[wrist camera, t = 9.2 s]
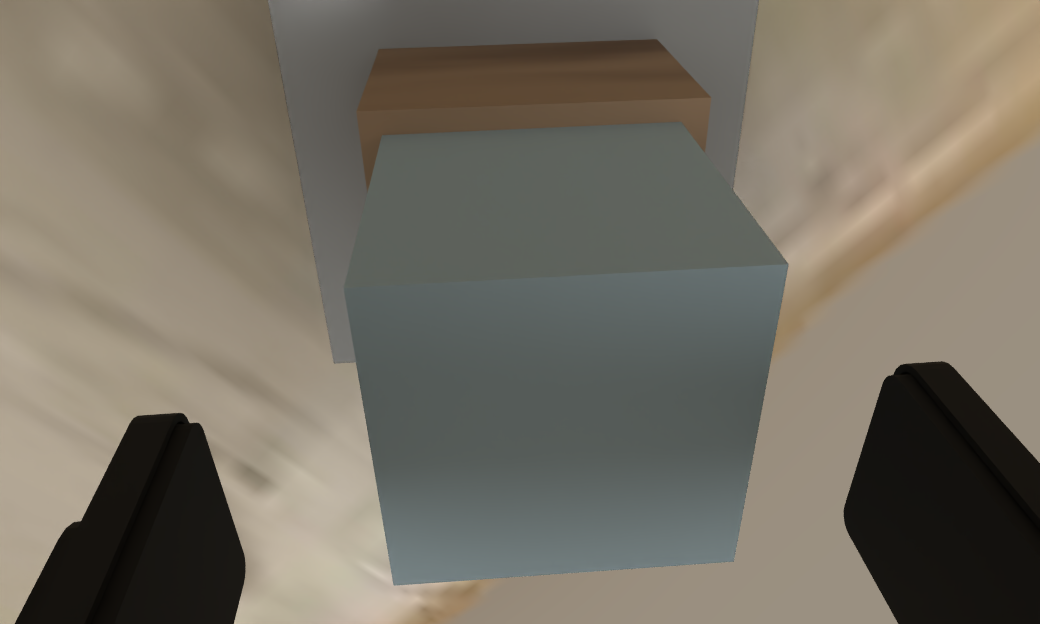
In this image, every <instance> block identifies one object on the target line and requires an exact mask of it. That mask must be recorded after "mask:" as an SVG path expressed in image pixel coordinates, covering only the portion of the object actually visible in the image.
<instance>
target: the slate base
mask: <svg viewBox="0 0 1040 624" xmlns="http://www.w3.org/2000/svg"><path fill="white" fill-rule="evenodd" d="M758 3H759V0H268V4H269V9H270V15H271V20H272V26H273V31H274V37H275V42H276V48H277V53H278V59H279V64H280V70H281V75H282V81H283V86H284V92H285V97H286V103H287V108H288V114H289V119H290V125H291V130H292V136H293V141H294V147H295V152H296V158H297V163H298V169H299V174H300V180H301V185H302V191H303V196H304V202H305V207H306V213H307V218H308V224H309V229H310V235H311V240H312V246H313V251H314V257H315V262H316V268H317V273H318V279H319V284H320V290H321V295H322V301H323V306H324V312H325V317H326V323H327V328H328V334H329V339H330V345H331V350H332V356H333V361H334V363H351V362H356V359H355V353H354V347H353V341H352V335H351V329H350V323H349V317H348V312H347V306H346V300H345V294H344V284H345V280H346V276H347V272H348V268H349V264H350V260H351V256H352V252H353V248H354V244H355V240H356V236H357V232H358V229H359V225H360V221H361V217H362V213H363V209H364V205H365V201H366V197H367V187H366V180H365V173H364V165H363V158H362V150H361V143H360V135H359V128H358V120H357V113H356V111H357V108H358V105H359V103H360V100H361V97H362V94H363V92H364V89H365V86H366V83H367V81H368V78H369V75H370V72H371V70H372V67H373V64H374V61H375V58H376V56H377V53H378V50H379V49H393V48H421V47H449V46H477V45H506V44H534V43H562V42H590V41H618V40H647V39H657V40H658V41H659V42H660V43H661V44H662V45H663V46H664V47H665V48H666V49H667V50H668V52H669V53H670V54H671V55H672V56H673V57H674V58H675V59H676V60H677V61H678V62H679V63H680V64H681V66H682V67H683V68H684V69H685V70H686V71H687V72H688V73H689V74H690V75H691V76H692V77H693V78H694V79H695V81H696V82H697V83H698V84H699V85H700V86H701V87H702V88H703V89H704V90H705V91H706V92H707V93H708V95H709V96H710V97H711V105H710V114H709V123H708V131H707V140H706V149H705V154H706V155H707V157H708V158H709V159H710V161H711V162H712V163H713V165H714V166H715V167H716V169H717V170H718V171H719V173H720V174H721V175H722V177H723V178H724V179H725V181H726V182H727V183H728V185H729V186H730V187H731V188H732V190H733V185H734V177H735V170H736V163H737V156H738V148H739V141H740V134H741V126H742V119H743V112H744V105H745V97H746V90H747V83H748V76H749V68H750V61H751V54H752V46H753V39H754V32H755V25H756V17H757V10H758Z"/></svg>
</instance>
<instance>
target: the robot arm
mask: <svg viewBox="0 0 1040 624" xmlns="http://www.w3.org/2000/svg"><path fill="white" fill-rule="evenodd" d="M844 521H845V526H846V529H847V531H848V533H849V536H850V537H851V539H852V541H853V543H854V545H855V546H856V548H857V550H858V552H859V553H860V555H861V557H862V559H863V561H864V563H865V564H866V566H867V568H868V570H869V572H870V573H871V575H872V577H873V579H874V581H875V582H876V584H877V586H878V588H879V590H880V591H881V593H882V595H883V597H884V598H885V600H886V602H887V604H888V606H889V608H890V609H891V611H892V613H893V615H894V617H895V618H896V620H897V622H898V624H1040V463H1039V462H1038V461H1037V460H1036V459H1035V457H1034V456H1033V455H1032V454H1031V453H1030V452H1029V451H1028V450H1027V449H1026V448H1025V446H1024V445H1023V444H1022V443H1021V442H1020V441H1019V440H1018V439H1017V438H1016V436H1015V435H1014V434H1013V433H1012V432H1011V431H1010V430H1009V429H1008V427H1006V425H1005V424H1004V423H1003V422H1002V421H1001V420H1000V419H999V418H998V416H997V415H996V414H995V413H994V412H993V411H992V410H991V409H990V408H989V406H988V405H987V404H986V403H985V402H984V401H983V400H982V399H981V398H980V396H979V395H978V394H977V393H976V392H975V391H974V390H973V389H972V388H971V386H970V385H969V384H968V383H967V382H966V381H965V380H964V379H963V378H962V377H961V375H960V374H959V373H958V372H957V371H956V370H955V369H954V368H953V367H952V366H951V365H950V364H948V363H946V362H942V361H941V362H926V363H912V364H903V365H900V366H899V367H898V368H897V369H896V370H895V372H894V375H891V376H888V377H886V379H885V380H884V382H883V384H882V387H881V391H880V394H879V397H878V400H877V403H876V407H875V410H874V413H873V416H872V419H871V423H870V426H869V429H868V432H867V436H866V439H865V442H864V445H863V448H862V452H861V455H860V458H859V462H858V464H857V468H856V471H855V474H854V477H853V480H852V484H851V487H850V490H849V493H848V496H847V500H846V503H845V507H844ZM244 579H245V557H244V553H243V550H242V547H241V544H240V540H239V537H238V534H237V531H236V528H235V525H234V522H233V519H232V516H231V513H230V510H229V507H228V504H227V501H226V498H225V495H224V492H223V488H222V485H221V482H220V479H219V476H218V473H217V470H216V467H215V464H214V461H213V458H212V455H211V452H210V449H209V446H208V443H207V440H206V436H205V433H204V430H203V428H202V426H201V425H200V424H199V423H189V421H188V419H187V417H186V416H185V415H184V414H182V413H172V414H157V415H142V416H137V417H135V418H133V420H132V421H131V423H130V424H129V426H128V428H127V430H126V432H125V434H124V436H123V438H122V440H121V442H120V444H119V446H118V448H117V450H116V452H115V454H114V456H113V458H112V460H111V462H110V464H109V466H108V468H107V470H106V472H105V474H104V476H103V478H102V480H101V482H100V484H99V486H98V488H97V490H96V492H95V494H94V496H93V498H92V500H91V502H90V504H89V506H88V508H87V510H86V512H85V514H84V516H83V518H82V520H81V521H80V522H74V523H72V524H71V525H70V526H68V527H67V528H66V529H65V530H64V532H63V533H62V535H61V536H60V538H59V539H58V541H57V543H56V545H55V547H54V549H53V551H52V553H51V555H50V557H49V559H48V560H47V562H46V564H45V566H44V568H43V570H42V572H41V574H40V576H39V578H38V580H37V582H36V584H35V586H34V588H33V589H32V591H31V593H30V595H29V597H28V599H27V601H26V603H25V605H24V607H23V609H22V611H21V613H20V615H19V617H18V618H17V620H16V622H15V624H234V620H235V616H236V612H237V608H238V604H239V600H240V596H241V593H242V589H243V585H244Z"/></svg>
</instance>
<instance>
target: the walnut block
mask: <svg viewBox="0 0 1040 624" xmlns="http://www.w3.org/2000/svg"><path fill="white" fill-rule="evenodd" d="M710 105H711V97H710V96H709V95H708V93H707V92H706V91H705V90H704V89H703V88H702V87H701V86H700V85H699V84H698V83H697V82H696V81H695V79H694V78H693V77H692V76H691V75H690V74H689V73H688V72H687V71H686V70H685V69H684V68H683V67H682V66H681V64H680V63H679V62H678V61H677V60H676V59H675V58H674V57H673V56H672V55H671V54H670V53H669V52H668V50H667V49H666V48H665V47H664V46H663V45H662V44H661V43H660V42H659V41H658V40H657V39H647V40H618V41H590V42H562V43H534V44H506V45H477V46H449V47H421V48H393V49H379V50H378V53H377V56H376V58H375V61H374V64H373V67H372V70H371V72H370V75H369V78H368V81H367V83H366V86H365V89H364V92H363V94H362V97H361V100H360V103H359V105H358V108H357V111H356V113H357V120H358V128H359V135H360V143H361V150H362V158H363V165H364V173H365V180H366V187H367V193H368V189H369V185H370V181H371V177H372V173H373V169H374V165H375V161H376V157H377V153H378V149H379V145H380V141H381V137H382V135H398V134H421V133H443V132H465V131H487V130H509V129H531V128H554V127H576V126H598V125H620V124H642V123H664V122H682V123H683V125H684V126H685V127H686V129H687V130H688V131H689V133H690V134H691V135H692V137H693V138H694V139H695V141H696V142H697V143H698V145H699V146H700V147H701V149H702V150H703V151H704V153H705V149H706V140H707V131H708V123H709V114H710Z"/></svg>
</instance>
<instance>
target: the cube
mask: <svg viewBox="0 0 1040 624" xmlns="http://www.w3.org/2000/svg"><path fill="white" fill-rule="evenodd" d="M787 270H788V263H787V262H786V260H785V259H784V258H783V256H782V255H781V254H780V252H779V251H778V250H777V248H776V247H775V246H774V244H773V243H772V242H771V240H770V239H769V238H768V236H767V235H766V234H765V232H764V231H763V230H762V228H761V227H760V226H759V224H758V223H757V222H756V220H755V219H754V218H753V216H752V215H751V214H750V212H749V211H748V210H747V208H746V207H745V206H744V204H743V203H742V202H741V200H740V199H739V198H738V196H737V195H736V194H735V192H734V191H733V190H732V188H731V187H730V186H729V185H728V183H727V182H726V181H725V179H724V178H723V177H722V175H721V174H720V173H719V171H718V170H717V169H716V167H715V166H714V165H713V163H712V162H711V161H710V159H709V158H708V157H707V155H706V154H705V153H704V151H703V150H702V149H701V147H700V146H699V145H698V143H697V142H696V141H695V139H694V138H693V137H692V135H691V134H690V133H689V131H688V130H687V129H686V127H685V126H684V125H683V123H682V122H664V123H642V124H620V125H598V126H576V127H554V128H531V129H509V130H487V131H465V132H443V133H421V134H398V135H382V137H381V141H380V145H379V149H378V153H377V157H376V161H375V165H374V169H373V173H372V177H371V181H370V185H369V189H368V193H367V197H366V201H365V205H364V209H363V213H362V217H361V221H360V225H359V229H358V232H357V236H356V240H355V244H354V248H353V252H352V256H351V260H350V264H349V268H348V272H347V276H346V280H345V284H344V294H345V300H346V306H347V312H348V317H349V323H350V329H351V335H352V341H353V347H354V353H355V359H356V365H357V371H358V377H359V383H360V389H361V394H362V400H363V406H364V412H365V418H366V424H367V430H368V436H369V442H370V448H371V454H372V460H373V466H374V472H375V477H376V483H377V489H378V495H379V501H380V507H381V513H382V519H383V525H384V531H385V537H386V543H387V549H388V554H389V560H390V566H391V572H392V578H393V584H394V585H408V584H423V583H437V582H451V581H465V580H479V579H494V578H508V577H522V576H536V575H550V574H563V573H579V572H593V571H607V570H619V569H620V570H621V569H635V568H649V567H664V566H678V565H691V564H706V563H721V562H734V557H735V552H736V546H737V541H738V536H739V530H740V524H741V519H742V514H743V509H744V503H745V498H746V492H747V487H748V481H749V476H750V470H751V465H752V460H753V454H754V449H755V443H756V438H757V433H758V427H759V421H760V416H761V410H762V405H763V400H764V395H765V389H766V384H767V378H768V373H769V367H770V362H771V357H772V351H773V346H774V340H775V335H776V329H777V324H778V319H779V313H780V308H781V302H782V297H783V291H784V286H785V281H786V275H787Z"/></svg>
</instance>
